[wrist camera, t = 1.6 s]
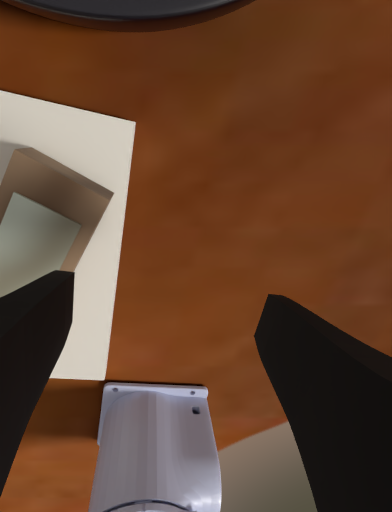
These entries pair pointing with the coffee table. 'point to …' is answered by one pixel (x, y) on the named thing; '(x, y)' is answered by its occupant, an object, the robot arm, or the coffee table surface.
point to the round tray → (130, 12)
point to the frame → (44, 217)
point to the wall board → (109, 228)
